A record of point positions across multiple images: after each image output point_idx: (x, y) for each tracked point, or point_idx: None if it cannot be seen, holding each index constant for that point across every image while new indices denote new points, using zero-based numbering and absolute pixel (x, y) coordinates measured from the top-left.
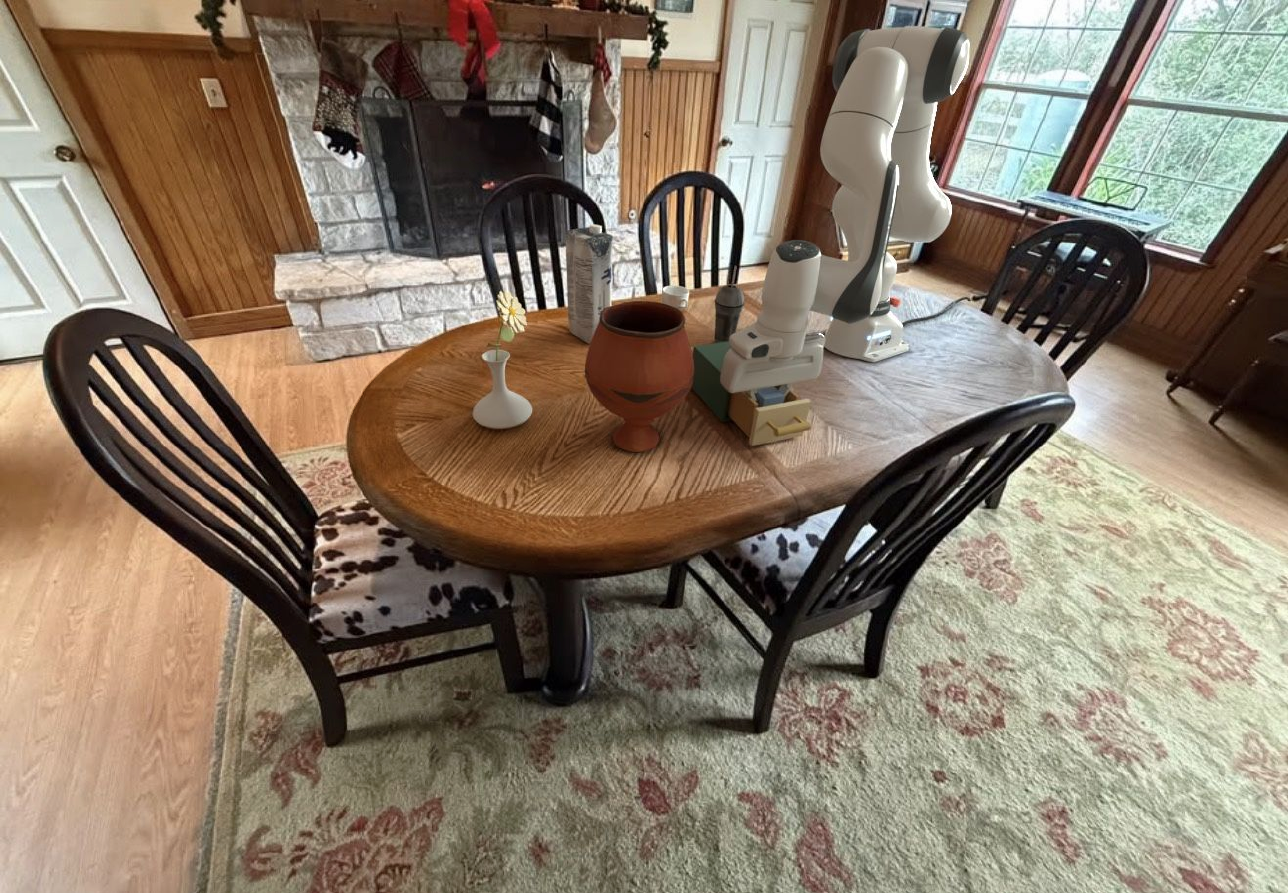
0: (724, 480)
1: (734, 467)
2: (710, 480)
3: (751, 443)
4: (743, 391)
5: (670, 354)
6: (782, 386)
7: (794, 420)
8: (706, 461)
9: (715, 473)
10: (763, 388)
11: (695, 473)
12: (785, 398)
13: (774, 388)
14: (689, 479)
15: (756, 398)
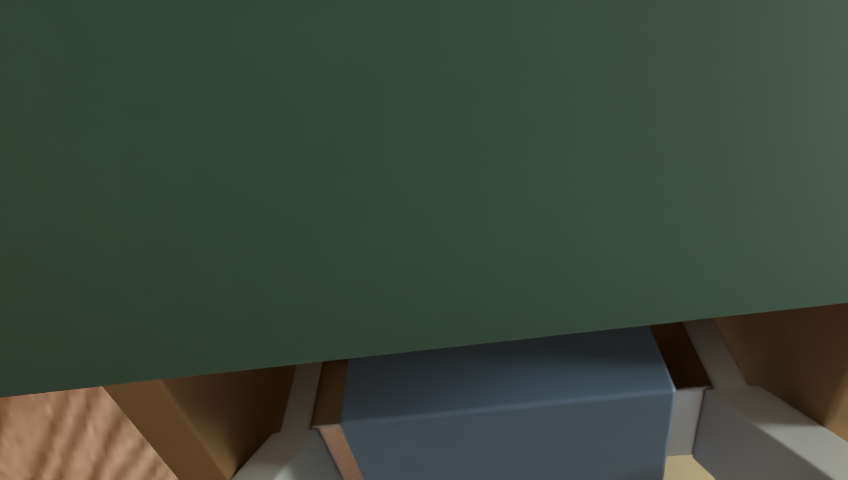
0: (167, 474)
1: None
2: (107, 469)
3: None
4: (192, 461)
5: None
6: (778, 460)
7: None
8: (81, 389)
9: (128, 445)
10: (490, 445)
11: (36, 437)
12: (744, 364)
13: (642, 457)
14: (14, 457)
15: (357, 467)
